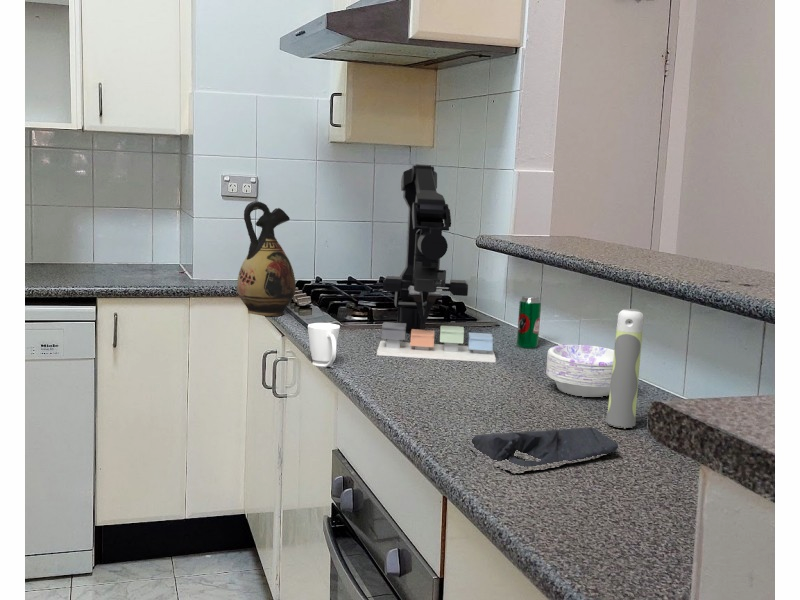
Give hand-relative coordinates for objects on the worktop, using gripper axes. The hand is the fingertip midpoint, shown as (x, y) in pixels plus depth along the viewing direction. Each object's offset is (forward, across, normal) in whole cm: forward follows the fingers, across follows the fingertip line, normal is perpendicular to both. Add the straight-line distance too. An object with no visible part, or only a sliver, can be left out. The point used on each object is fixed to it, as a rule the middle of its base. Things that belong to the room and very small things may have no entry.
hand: (423, 323), depth 196 cm
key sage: (+3, +6, 0) cm, 7 cm away
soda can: (+7, +25, +14) cm, 29 cm away
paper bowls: (+7, +32, -27) cm, 42 cm away
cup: (+7, -20, -18) cm, 28 cm away
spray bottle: (+7, +35, -49) cm, 60 cm away
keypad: (+6, +3, 0) cm, 7 cm away
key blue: (+5, +13, 0) cm, 14 cm away
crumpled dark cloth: (+7, +20, -66) cm, 69 cm away
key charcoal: (+3, -7, 0) cm, 7 cm away
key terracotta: (+5, 0, 0) cm, 5 cm away
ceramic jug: (+7, -44, +36) cm, 57 cm away
